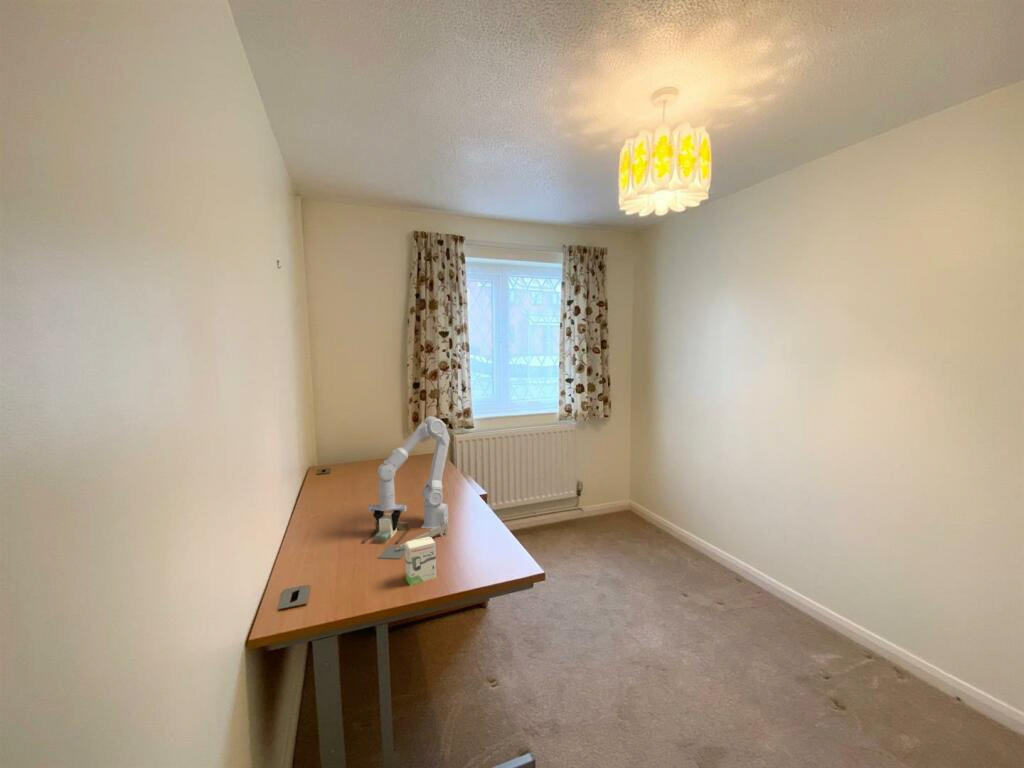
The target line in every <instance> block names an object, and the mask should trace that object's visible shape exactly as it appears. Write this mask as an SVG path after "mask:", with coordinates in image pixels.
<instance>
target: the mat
mask: <svg viewBox="0 0 1024 768" xmlns="http://www.w3.org/2000/svg"><path fill="white" fill-rule="evenodd" d="M398 547H399V545H388V546H387V547H386V548H385V549H384V550H383V551H382V553H380V554H379V556H378V557H377V559H378V560H382V559H383V560H401V559H402V558H403V556H405V548H404V549H402V550H400V549H399V550H396V548H398Z"/></svg>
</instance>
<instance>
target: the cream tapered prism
mask: <svg viewBox="0 0 1024 768" xmlns="http://www.w3.org/2000/svg"><path fill="white" fill-rule="evenodd" d="M391 514H392V513H387V512H386V513H385V512H384V515H383V516H382V517H381V518H380V519H379V530H378V533H379V532H390V536H389V538H390V539H392V538H393V536H394V535H395V534H396V533H397V532H398V530H397V528H396V530H393V521H392V516H391Z"/></svg>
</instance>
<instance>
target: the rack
mask: <svg viewBox="0 0 1024 768" xmlns="http://www.w3.org/2000/svg"><path fill="white" fill-rule="evenodd" d="M374 524H375V525H374V526H375V529H373V530H372V531H371V532H370V533H369V534H368V535H367V536H366V537H365V538H364V539H362V541H361V542H362V544H366V542H367V541H369V540H370V538H371V537H372V536H373V535H375V534H376V532H377V531H379V525H378V523H377V521H375V523H374ZM410 528H411V527H410V522H408V521H407V522H405V521H404V522H403V521H398V523H397V531H404V532H403V533H402V534H401V535H400V536H399V538H398V539H397V540H396V541H395V545H398V544H400V542H402V540H403V538H405V536H406V534H408V532H409V531H410V530H411V529H410Z"/></svg>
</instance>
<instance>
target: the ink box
mask: <svg viewBox="0 0 1024 768" xmlns="http://www.w3.org/2000/svg"><path fill="white" fill-rule="evenodd" d="M411 540H412V539H411ZM404 543H405V542H404ZM436 554H437V553H436V541H435V540H434V539H433V537H431V536H429V537H426V538H421V539H416V540H412V541H410V540H408V542H407V541H406V543H405V554H404V563H405V581H406V582H407V583H408V585H409V586H413V585H416V584H419V583H422V582H425V581H426V582H427V581H428V580H432V579H435V578H437V562H436V561H437V559H436V558H437V557H436Z"/></svg>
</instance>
